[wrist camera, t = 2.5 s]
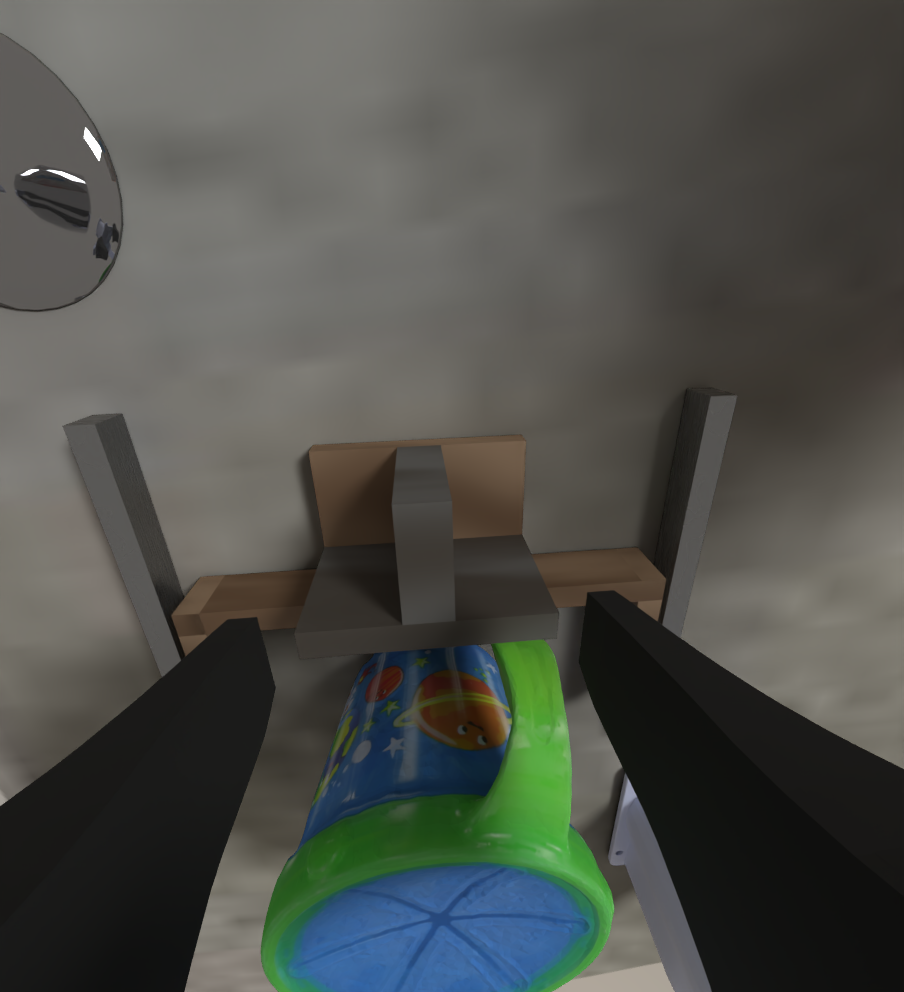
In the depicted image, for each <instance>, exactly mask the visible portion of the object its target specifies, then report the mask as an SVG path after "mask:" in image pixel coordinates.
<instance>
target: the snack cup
mask: <svg viewBox="0 0 904 992" xmlns="http://www.w3.org/2000/svg"><path fill="white" fill-rule="evenodd" d="M491 646H492V648H493V652H494V656H495V660H496V661H495V660H494V659H493V658H492V657H491V656H490V655H489V654H488V653H487V652H486V651H484V650H483V649H482V648H480V647H479V646H478V645H469V646H457V647H445V648H432V649H420V650H408V651H395V652H383V653H374V655H373V657H372V658H371V659H370V660H369V662H367V663H366V664H365V665H363V666H362V668H361V670H360V672H359V674H358V676H357V678H356V680H355V682H354V685H353V687H352V689H351V691H350V694H349V696H348V699H347V702H346V705H345V708H344V711H343V714H342V717H341V720H340V723H339V726H338V729H337V732H336V735H335V738H334V741H333V744H332V746H331V749H330V752H329V755H328V758H327V761H326V764H325V767H324V770H323V773H322V776H321V779H320V782H319V785H318V788H317V791H316V794H315V797H314V800H313V803H312V806H311V810H310V813H309V816H308V819H307V823H306V827H305V830H304V834H303V837H302V840H301V843H300V845H299V847H298V849H297V851H296V852H295V853H294V855H292V856H291V857H290V858H289V859H288V861H287V862H286V864H285V866H284V868H283V870H282V872H281V874H280V876H279V878H278V879H277V882H276V885H275V888H274V891H273V894H272V897H271V901H270V904H269V908H268V912H267V916H266V920H265V925H264V930H263V937H262V944H261V962H262V966H263V969H264V972H265V974H266V976H267V978H268V980H269V981H270V983H271V984H272V985H273V986H274V987H275V989H276V990H277V991H278V992H552V991H554V990H556V989H557V988H559V987H560V986H562V985H564V984H565V983H567V982H569V981H570V980H572V979H573V978H574V977H575V976H577V975H579V974H580V973H581V972H582V971H583V970H584V969H586V968H587V967H588V966H589V965H590V964H591V963H592V962H593V961H594V959H595V958H596V957H597V956H598V955H599V953H600V952H601V951H602V949H603V947H604V945H605V943H606V941H607V939H608V937H609V933H610V930H611V922H612V918H613V913H614V903H613V898H612V893H611V890H610V888H609V886H608V884H607V881H606V880H605V878H604V876H603V875H602V873H601V871H600V869H599V868H598V866H597V863H596V860H595V858H594V856H593V854H592V851H591V850H590V849H589V848H588V846H587V844H586V843H585V841H584V839H583V838H582V837H581V835H580V834H579V833H578V832H577V831H576V830H575V828H574V827H573V826H572V825H571V824H570V815H571V796H572V790H571V778H572V766H571V750H570V742H569V732H568V725H567V718H566V712H565V707H564V700H563V694H562V690H561V683H560V676H559V671H558V666H557V663H556V658H555V655H554V654H553V652H552V650H551V648H550V647H549V645H548V644H547V643H546V642H545V641H544V640H531V641H519V642H506V643H494V644H491Z"/></svg>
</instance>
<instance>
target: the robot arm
mask: <svg viewBox="0 0 904 992" xmlns="http://www.w3.org/2000/svg"><path fill="white" fill-rule="evenodd" d="M579 664H580V667H581V670H582V673H583V676H584V679H585V682H586V685H587V688H588V691H589V694H590V697H591V700H592V702H593V705H594V708H595V710H596V712H597V714H598V716H599V718H600V720H601V723H602V725H603V727H604V729H605V731H606V733H607V735H608V737H609V740H610V742H611V744H612V746H613V748H614V750H615V752H616V754H617V756H618V758H619V760H620V763H621V765H622V767H623V769H624V771H625V776H624V781H623V786H622V790H621V795H620V800H619V805H618V810H617V815H616V820H615V825H614V830H613V835H612V840H611V844H610V849H609V854H608V859H609V862H610V864H611V865H614V866H617V865H625V866H626V868H627V871H628V874H629V876H630V879H631V882H632V884H633V887H634V889H635V892H636V895H637V897H638V900H639V903H640V905H641V908H642V911H643V913H644V916H645V919H646V921H647V924H648V927H649V929H650V932H651V934H652V937H653V940H654V942H655V945H656V948H657V950H658V953H659V956H660V958H661V961H662V964H663V966H664V969H665V972H666V974H667V976H668V979H669V981H670V983H671V985H672V987H673V989H674V991H675V992H904V769H902V768H900V767H898V766H896V765H894V764H892V763H890V762H888V761H886V760H884V759H882V758H880V757H878V756H876V755H874V754H872V753H870V752H868V751H866V750H864V749H862V748H860V747H858V746H856V745H854V744H852V743H851V742H849V741H847V740H845V739H843V738H841V737H839V736H837V735H835V734H834V733H832V732H830V731H828V730H826V729H824V728H822V727H821V726H819V725H817V724H815V723H814V722H812V721H810V720H808V719H807V718H805V717H803V716H801V715H800V714H798V713H796V712H794V711H793V710H791V709H789V708H787V707H785V706H784V705H782V704H780V703H778V702H777V701H775V700H774V699H772V698H770V697H769V696H767V695H765V694H764V693H762V692H760V691H759V690H757V689H755V688H754V687H752V686H751V685H749V684H748V683H746V682H745V681H743V680H741V679H740V678H738V677H737V676H735V675H734V674H732V673H731V672H729V671H727V670H726V669H724V668H723V667H721V666H720V665H718V664H717V663H715V662H714V661H712V660H711V659H709V658H708V657H707V656H705V655H704V654H702V653H701V652H699V651H698V650H696V649H695V648H694V647H692V646H691V645H689V644H688V643H686V642H685V641H684V640H682V639H681V638H679V637H678V636H677V635H675V634H674V633H673V632H671V631H670V630H668V629H667V628H666V627H664V626H663V625H662V624H660V623H659V622H657V621H656V620H655V619H653V618H652V617H651V616H649V615H648V614H647V613H645V612H644V611H643V610H641V609H640V608H638V607H637V606H636V605H634V604H633V603H632V602H630V601H629V600H627V599H626V598H625V597H623V596H622V595H620V594H619V593H617V592H616V591H614V590H609V591H596V592H587V599H586V607H585V615H584V623H583V632H582V640H581V648H580V656H579ZM274 693H275V684H274V680H273V676H272V672H271V669H270V665H269V661H268V657H267V653H266V649H265V645H264V642H263V638H262V634H261V630H260V626H259V622H258V619H257V617H251V618H238V619H227V620H226V621H225V622H224V623H223V624H221V625H220V626H219V627H218V628H217V629H216V630H214V631H213V632H212V633H211V634H210V635H209V636H208V637H207V638H205V639H204V640H203V641H202V642H201V643H200V644H199V645H198V646H197V647H196V648H194V649H193V650H192V651H191V652H190V653H189V654H188V655H187V656H186V657H184V658H183V659H182V660H181V661H180V662H179V663H178V664H177V665H176V666H174V667H173V668H172V669H171V670H170V671H169V672H168V673H167V674H165V675H164V676H163V677H162V678H161V679H160V680H159V681H157V682H156V683H155V684H154V685H153V686H152V687H151V688H150V689H148V690H147V691H146V692H145V693H144V694H143V695H142V696H140V697H139V698H138V699H137V700H136V701H135V702H133V703H132V704H131V705H130V706H129V707H127V708H126V709H125V710H124V711H123V712H121V713H120V714H119V715H118V716H116V717H115V718H114V719H113V720H112V721H110V722H109V723H108V724H107V725H106V726H104V727H103V728H102V729H101V730H100V731H98V732H97V733H96V734H95V735H93V736H92V737H91V738H90V739H89V740H87V741H86V742H85V743H84V744H83V745H81V746H80V747H79V748H78V749H76V750H75V751H74V752H72V753H71V754H70V755H69V756H67V757H66V758H65V759H63V760H62V761H61V762H60V763H58V764H57V765H56V766H54V767H53V768H52V769H50V770H49V771H48V772H46V773H45V774H44V775H42V776H41V777H40V778H38V779H37V780H36V781H34V782H33V783H31V784H30V785H29V786H27V787H26V788H25V789H23V790H22V791H20V792H19V793H18V794H16V795H15V796H14V797H12V798H11V799H10V800H8V801H7V802H5V803H4V804H3V805H1V806H0V992H184V991H185V987H186V983H187V979H188V975H189V971H190V967H191V963H192V959H193V955H194V951H195V948H196V944H197V940H198V936H199V933H200V929H201V925H202V921H203V918H204V914H205V910H206V907H207V903H208V899H209V895H210V892H211V888H212V885H213V882H214V879H215V876H216V873H217V870H218V867H219V863H220V860H221V857H222V855H223V852H224V849H225V846H226V844H227V841H228V838H229V835H230V832H231V830H232V827H233V824H234V821H235V818H236V816H237V813H238V810H239V807H240V805H241V802H242V799H243V796H244V793H245V791H246V788H247V785H248V782H249V780H250V777H251V774H252V771H253V768H254V765H255V763H256V760H257V757H258V754H259V751H260V748H261V745H262V742H263V739H264V737H265V732H266V728H267V724H268V720H269V716H270V711H271V707H272V702H273V697H274Z"/></svg>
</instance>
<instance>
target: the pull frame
mask: <svg viewBox="0 0 904 992" xmlns="http://www.w3.org/2000/svg"><path fill="white" fill-rule="evenodd" d="M525 454H526V440H525V439H524V438H523V436H522V435H506V436H486V437H466V438H446V439H426V440H405V441H385V442H365V443H345V444H325V445H313V446H312V447H311V449H310V450H309V458H310V464H311V470H312V476H313V482H314V488H315V494H316V500H317V506H318V512H319V517H320V523H321V529H322V535H323V541H324V550H323V553H322V556H321V559H320V561H319V564H318V567H317V569H310V570H295V571H280V572H266V573H251V574H236V575H222V576H207V577H200V578H199V580H198V581H197V582H196V584H195V585H194V586H193V588H192V589H191V590H190V591H189V593H188V594H187V595H186V597H185V598H184V599H183V601H182V602H181V603H180V605H179V606H178V607H177V609H176V610H175V611H174V612H173V614H172V615H171V617H172V619H173V622H174V625H175V628H176V631H177V633H178V636H179V639H180V642H181V645H182V647H183V650H184V653H185V656H187V655H188V654H189V653H190V652H191V651H192V650H193V649H194V648H196V647H197V646H198V645H199V644H200V643H201V642H202V641H203V640H204V639H205V638H207V637H208V636H209V635H210V634H211V633H212V632H213V631H214V630H216V629H217V628H218V627H219V626H220V625H221V624H223V623H224V622H225V621H226V620H227V619H238V618H251V617H257V619H258V622H259V626H260V630H274V629H287V628H296V630H295V632H294V635H295V640H296V644H297V649H298V653H299V658H300V659H309V658H321V657H333V656H346V655H358V654H370V653H383V652H395V651H408V650H420V649H432V648H445V647H457V646H469V645H482V644H494V643H506V642H519V641H531V640H543V639H556V638H557V630H558V619H559V612H558V610H557V608H562V607H575V606H586V599H587V592H596V591H609V590H614V591H616V592H617V593H619V594H620V595H622V596H623V597H625V598H626V599H627V600H629V601H630V602H632V603H633V604H634V605H636V606H637V607H638V608H640V609H641V610H643V611H644V612H645V613H647V614H648V615H649V616H651V617H652V618H653V619H655V620H656V621H657V622H658V618H659V613H660V608H661V603H662V599H663V594H664V589H665V584H666V578H665V577H664V576H663V575H662V574H661V573H660V572H659V571H658V570H657V568H656V567H655V566H654V565H653V564H652V563H651V562H650V561H649V560H648V559H647V557H646V556H645V555H644V554H643V553H642V552H641V551H640V550H639V549H638V548H637V547H634V548H619V549H604V550H590V551H575V552H560V553H545V554H531V553H530V550H529V548H528V546H527V544H526V542H525V540H524V538H523V536H522V523H523V500H524V477H525Z"/></svg>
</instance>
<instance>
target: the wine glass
mask: <svg viewBox="0 0 904 992" xmlns="http://www.w3.org/2000/svg"><path fill="white" fill-rule="evenodd" d="M122 228H123V212H122V199H121V194H120V189H119V184H118V179H117V175H116V172H115V169H114V167H113V164H112V161H111V158H110V155H109V153H108V150H107V148H106V146H105V144H104V142H103V140H102V138H101V136H100V134H99V132H98V130H97V129H96V127H95V125H94V123H93V122H92V120H91V119H90V117H89V116H88V114H87V113H86V111H85V110H84V108H83V107H82V105H81V104H80V102H79V101H78V99H77V98H76V97H75V96H74V95H73V94H72V92H71V91H70V90H69V89H68V88H67V87H66V86H65V84H64V83H63V82H62V81H61V80H60V79H59V78H58V76H57V75H56V74H55V73H53V72H52V71H51V70H50V69H49V68H48V67H47V66H46V65H45V64H43V63H42V62H41V61H40V60H39V59H38V58H37V57H36V56H35V55H33V54H32V53H31V52H29V51H28V50H26V49H25V48H23V47H22V46H20V45H19V44H18V43H16V42H15V41H13V40H12V39H10V38H9V37H7V36H6V35H4V34H2V33H0V306H4V307H9V308H13V309H18V310H35V311H41V310H49V309H57V308H61V307H64V306H67V305H70V304H73V303H76V302H78V301H79V300H81V299H82V298H84V297H86V296H87V295H89V294H90V293H92V292H93V291H94V290H95V289H96V288H97V287H98V286H99V285H100V284H101V283H102V282H103V281H104V280H105V278H106V276H107V275H108V273H109V271H110V270H111V268H112V266H113V265H114V263H115V260H116V257H117V254H118V251H119V248H120V244H121V236H122Z"/></svg>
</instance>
